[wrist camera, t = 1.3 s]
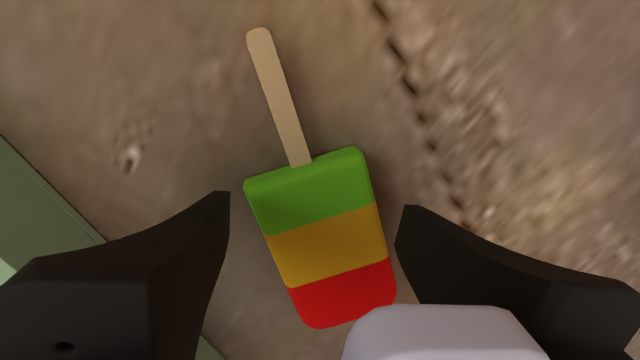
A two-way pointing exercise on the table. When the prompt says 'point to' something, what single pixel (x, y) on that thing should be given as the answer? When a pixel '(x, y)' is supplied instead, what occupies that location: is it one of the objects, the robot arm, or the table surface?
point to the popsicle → (318, 214)
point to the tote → (44, 224)
